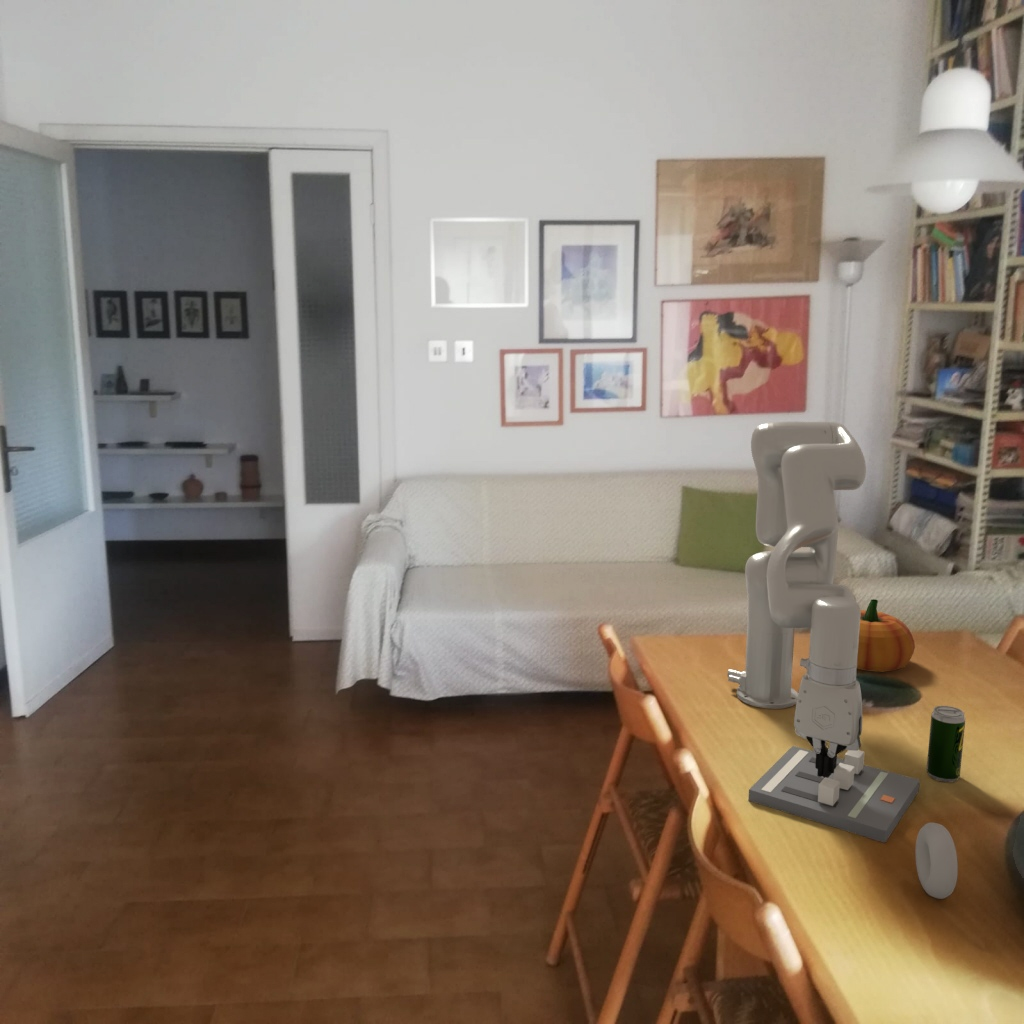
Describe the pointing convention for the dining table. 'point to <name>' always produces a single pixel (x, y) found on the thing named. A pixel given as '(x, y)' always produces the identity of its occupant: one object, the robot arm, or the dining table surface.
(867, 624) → the pumpkin
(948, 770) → the beer can
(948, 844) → the donut
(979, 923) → the dining table surface
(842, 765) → the handle
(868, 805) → the panel
